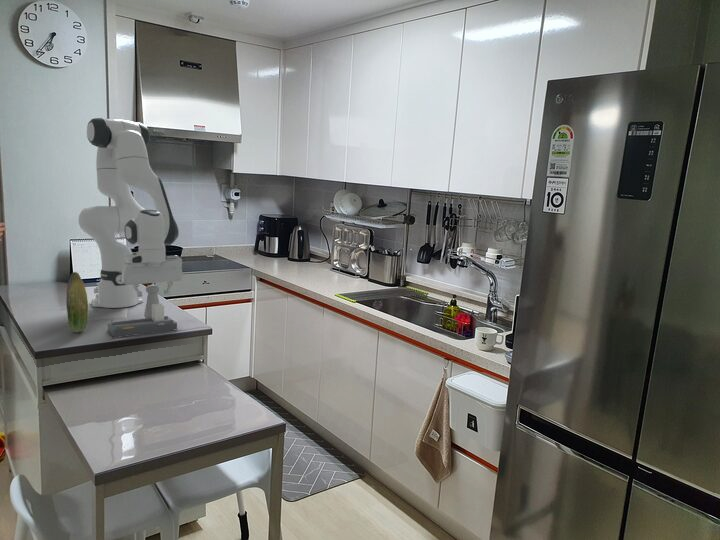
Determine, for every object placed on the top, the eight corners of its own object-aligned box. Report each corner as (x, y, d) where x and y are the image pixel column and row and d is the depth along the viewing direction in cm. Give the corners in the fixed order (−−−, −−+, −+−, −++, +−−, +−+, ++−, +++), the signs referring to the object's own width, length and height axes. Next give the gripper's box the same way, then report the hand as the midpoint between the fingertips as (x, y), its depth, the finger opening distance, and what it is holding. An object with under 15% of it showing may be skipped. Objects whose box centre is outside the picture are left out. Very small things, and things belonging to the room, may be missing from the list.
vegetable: (92, 330, 178) (89, 271, 175) (84, 335, 172) (82, 274, 169) (72, 330, 177) (70, 270, 174) (64, 335, 171) (61, 274, 168)
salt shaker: (155, 323, 189) (154, 287, 187) (141, 322, 190) (140, 286, 188) (164, 319, 194) (164, 284, 192) (150, 318, 196) (149, 283, 193)
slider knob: (151, 319, 184) (151, 304, 183) (160, 318, 186) (160, 303, 185) (155, 322, 181) (154, 306, 180) (164, 321, 183) (164, 306, 182)
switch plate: (108, 330, 178) (107, 321, 178) (169, 323, 190) (168, 314, 190) (114, 337, 171) (113, 327, 171) (177, 329, 183) (176, 320, 183)
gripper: (179, 254, 197) (180, 291, 199) (119, 256, 185) (121, 296, 187) (184, 256, 192) (185, 294, 194) (123, 259, 180) (125, 299, 182)
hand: (153, 295), depth 190 cm, fingers open, 8 cm apart
